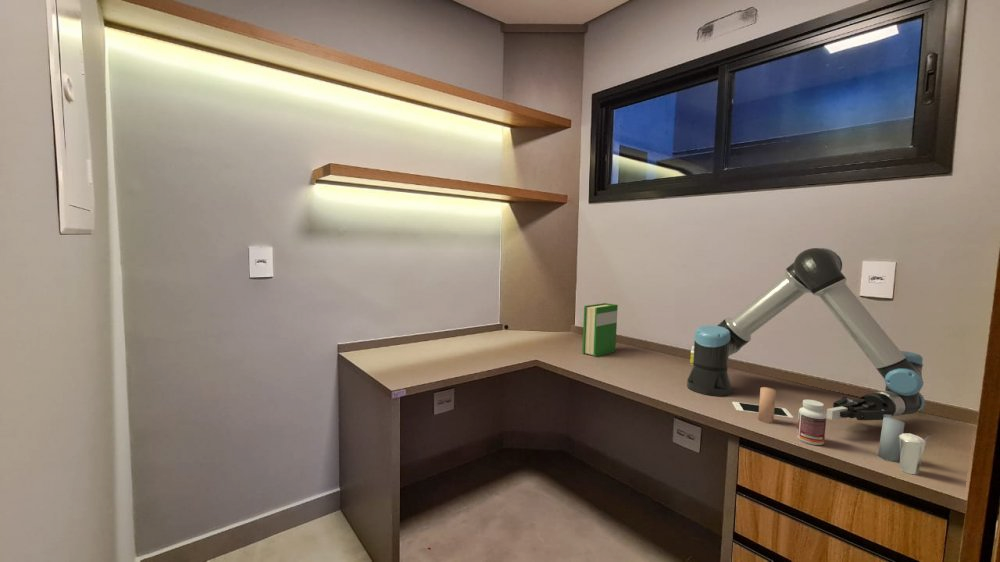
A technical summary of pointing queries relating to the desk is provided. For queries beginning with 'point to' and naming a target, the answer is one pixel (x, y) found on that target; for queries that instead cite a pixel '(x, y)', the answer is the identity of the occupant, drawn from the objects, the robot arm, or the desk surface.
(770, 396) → the terracotta post
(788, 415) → the cell phone
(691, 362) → the supplement bottle
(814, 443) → the pill bottle
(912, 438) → the milkshake
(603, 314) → the hardback book
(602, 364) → the desk surface
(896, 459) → the slate post
